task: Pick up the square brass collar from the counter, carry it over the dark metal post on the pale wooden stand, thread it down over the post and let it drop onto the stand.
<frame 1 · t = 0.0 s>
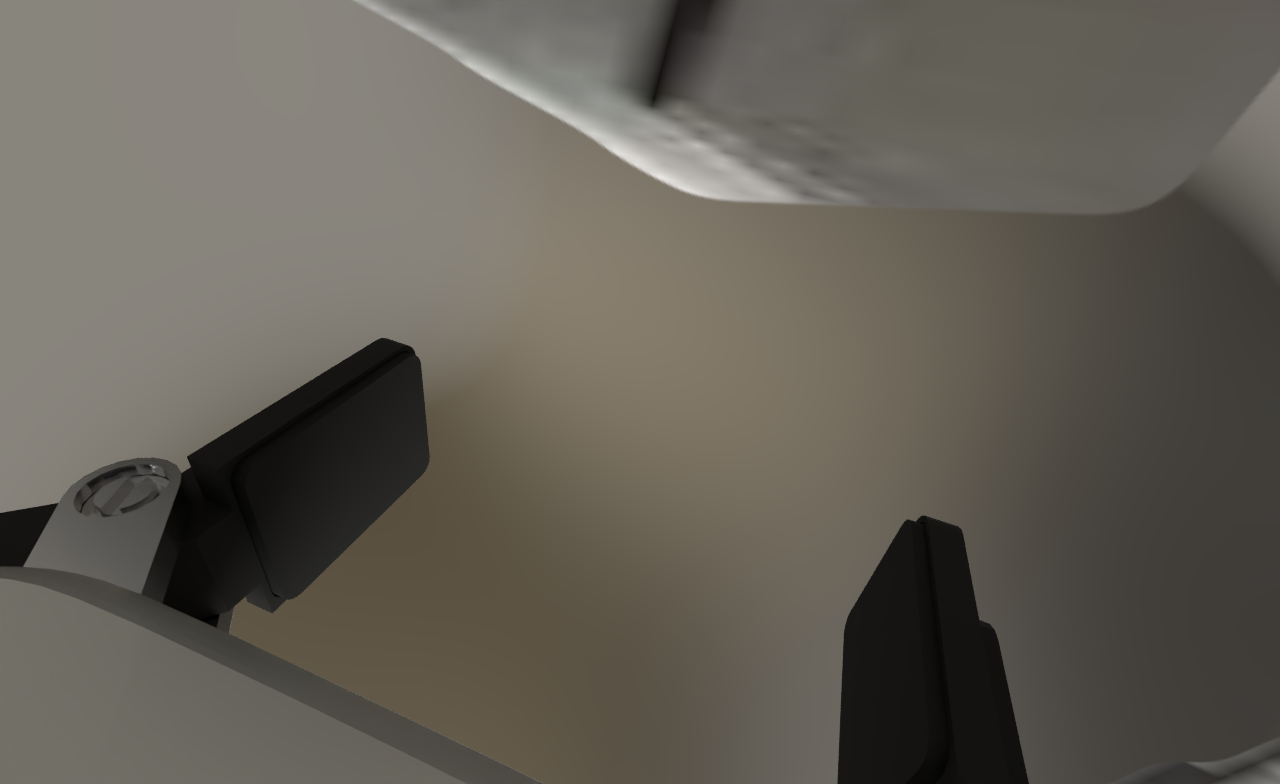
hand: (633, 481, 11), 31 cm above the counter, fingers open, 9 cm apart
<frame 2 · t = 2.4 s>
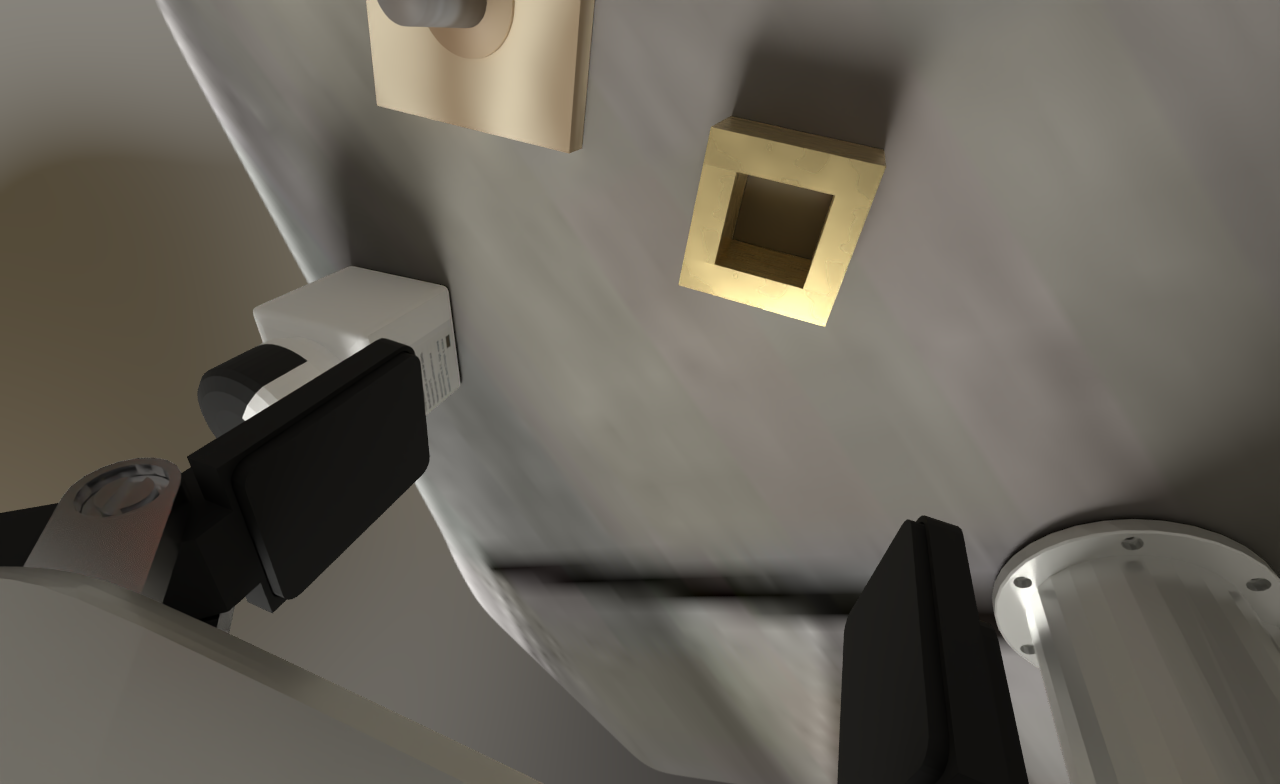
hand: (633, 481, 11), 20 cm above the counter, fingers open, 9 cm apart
collar: (782, 209, 27), on the counter
container: (410, 326, 39), on the counter
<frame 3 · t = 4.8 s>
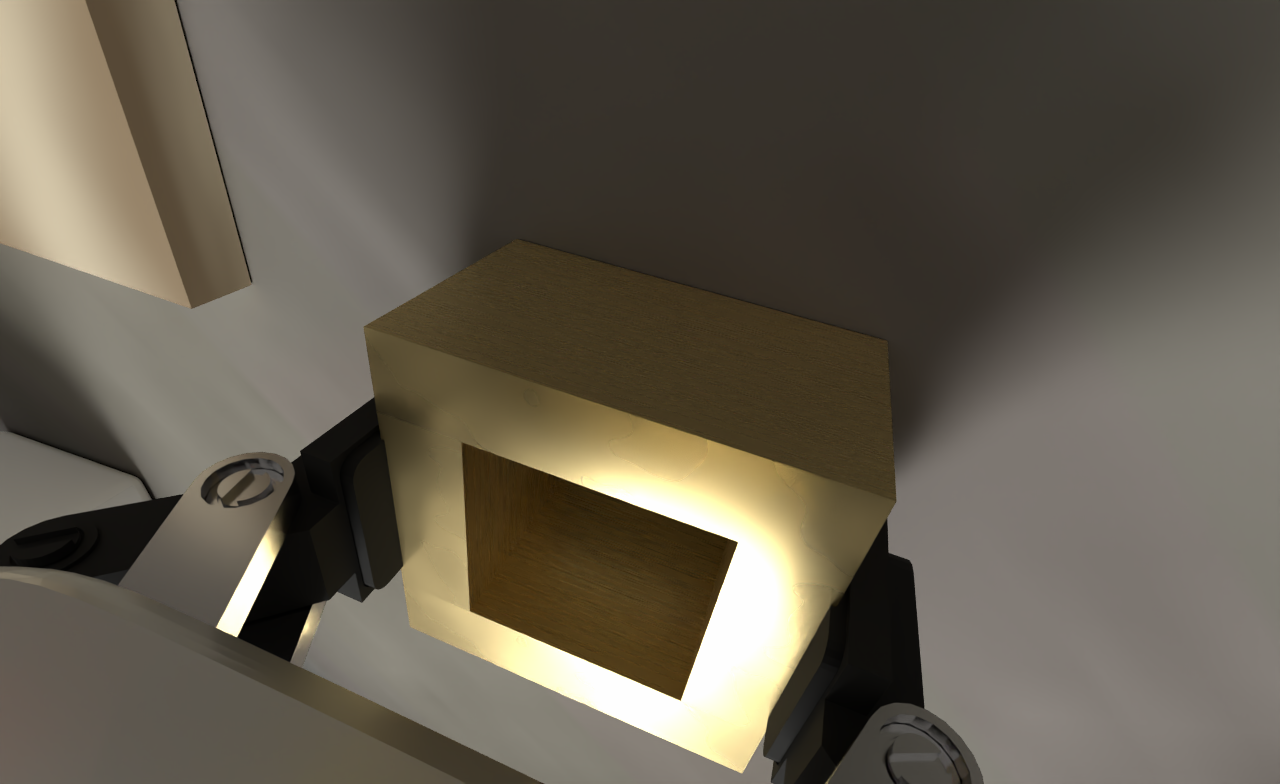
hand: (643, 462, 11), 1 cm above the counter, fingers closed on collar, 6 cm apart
collar: (658, 435, 12), on the counter, touching gripper
container: (120, 516, 24), on the counter
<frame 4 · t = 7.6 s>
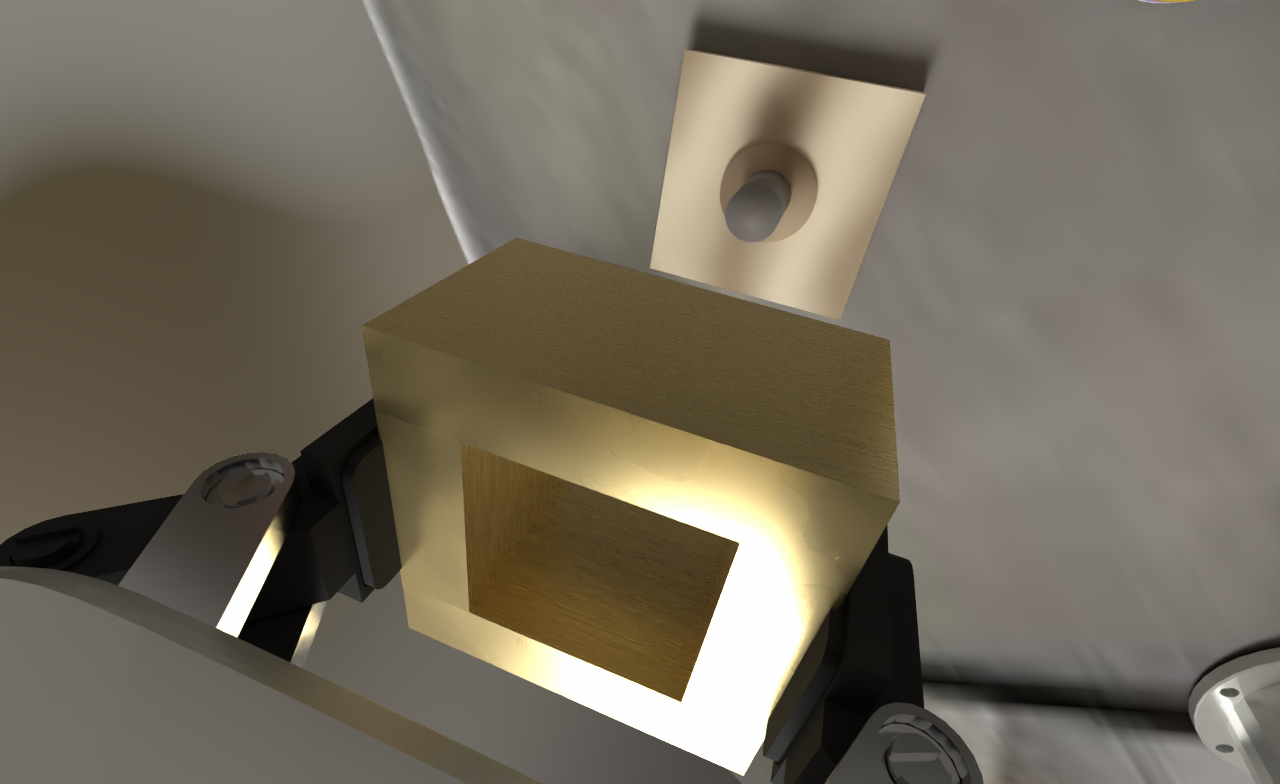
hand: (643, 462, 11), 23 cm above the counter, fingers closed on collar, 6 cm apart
collar: (659, 435, 12), point 22 cm above the counter, touching gripper
post stand: (772, 187, 30), on the counter
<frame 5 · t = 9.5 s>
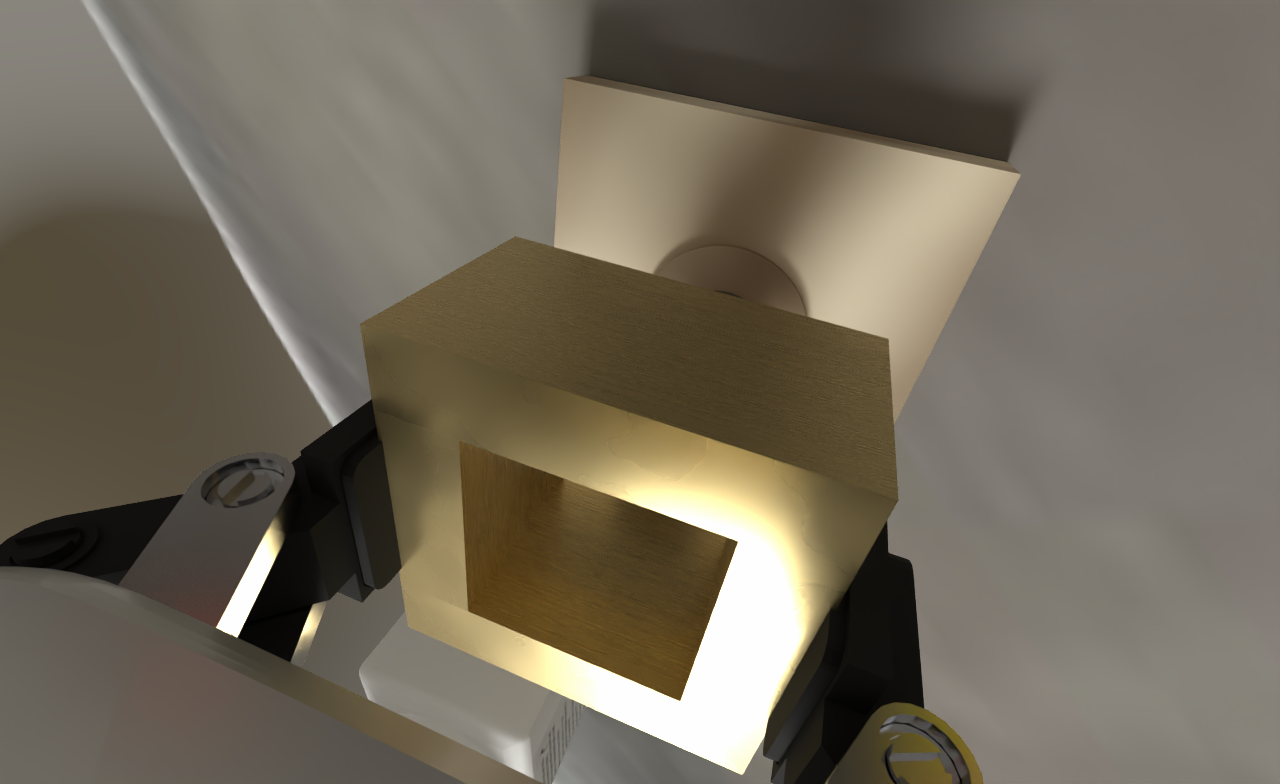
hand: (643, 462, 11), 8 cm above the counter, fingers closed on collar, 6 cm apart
collar: (658, 434, 12), point 7 cm above the counter, touching gripper
post stand: (732, 306, 18), on the counter
container: (536, 603, 30), on the counter
when the fingers open (4 cm above the counter, at t = 10.8 s): collar drops 1 cm, resting on post stand.
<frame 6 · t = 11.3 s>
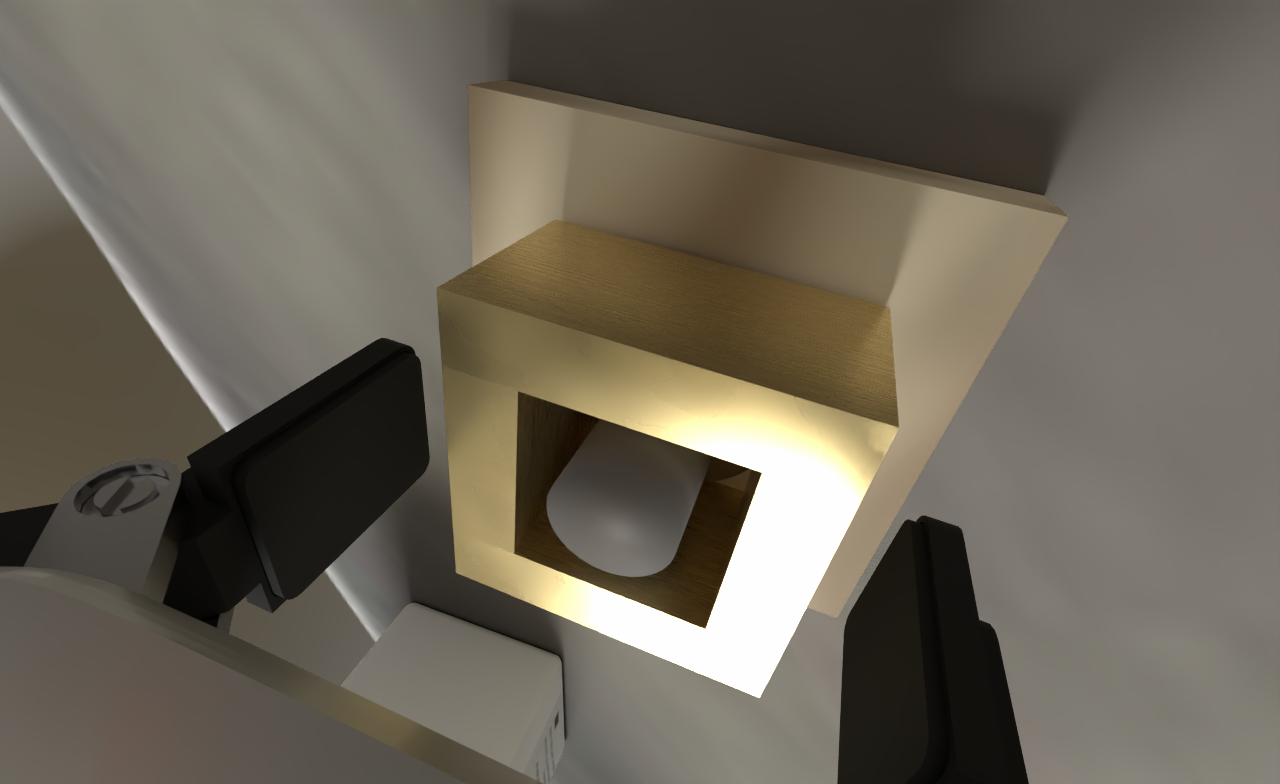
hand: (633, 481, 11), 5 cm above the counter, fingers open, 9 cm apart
collar: (680, 400, 13), point 2 cm above the counter, touching post stand
post stand: (696, 363, 14), on the counter
container: (494, 670, 27), on the counter
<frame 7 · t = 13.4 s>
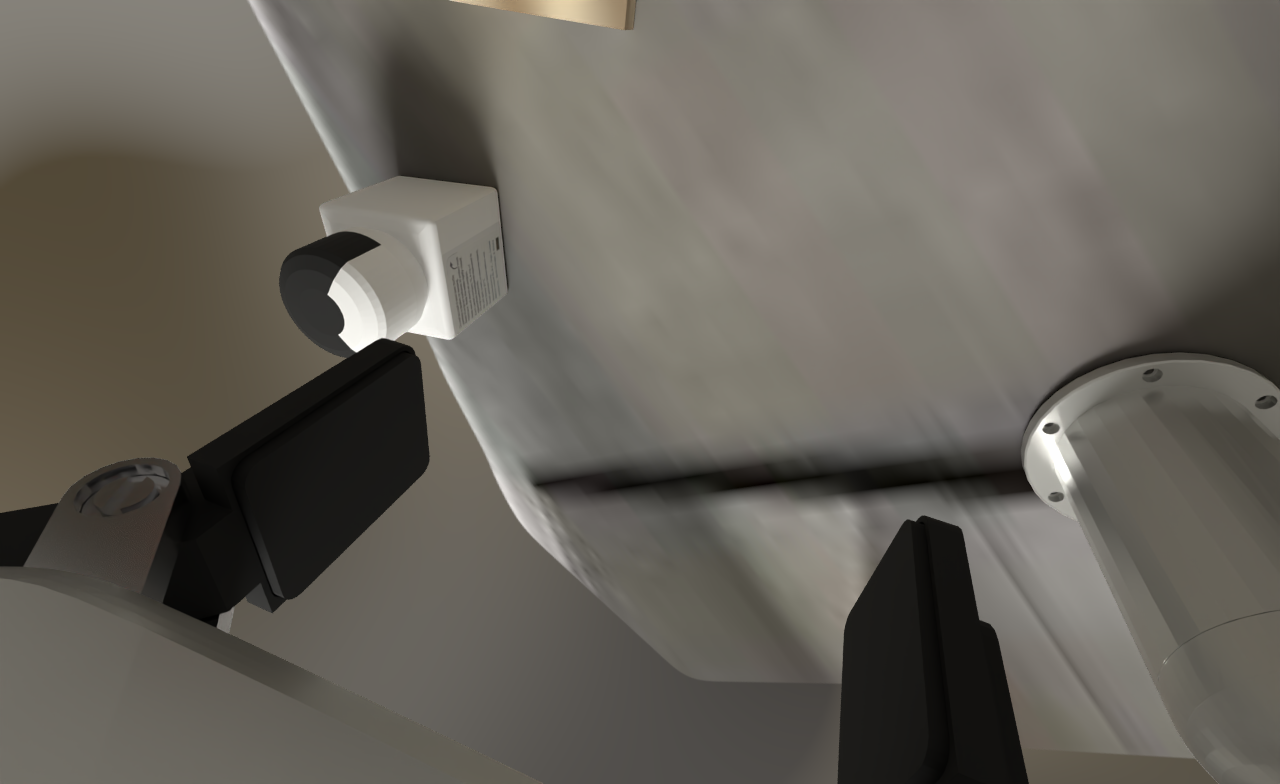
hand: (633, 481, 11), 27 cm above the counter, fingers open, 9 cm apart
container: (457, 235, 40), on the counter
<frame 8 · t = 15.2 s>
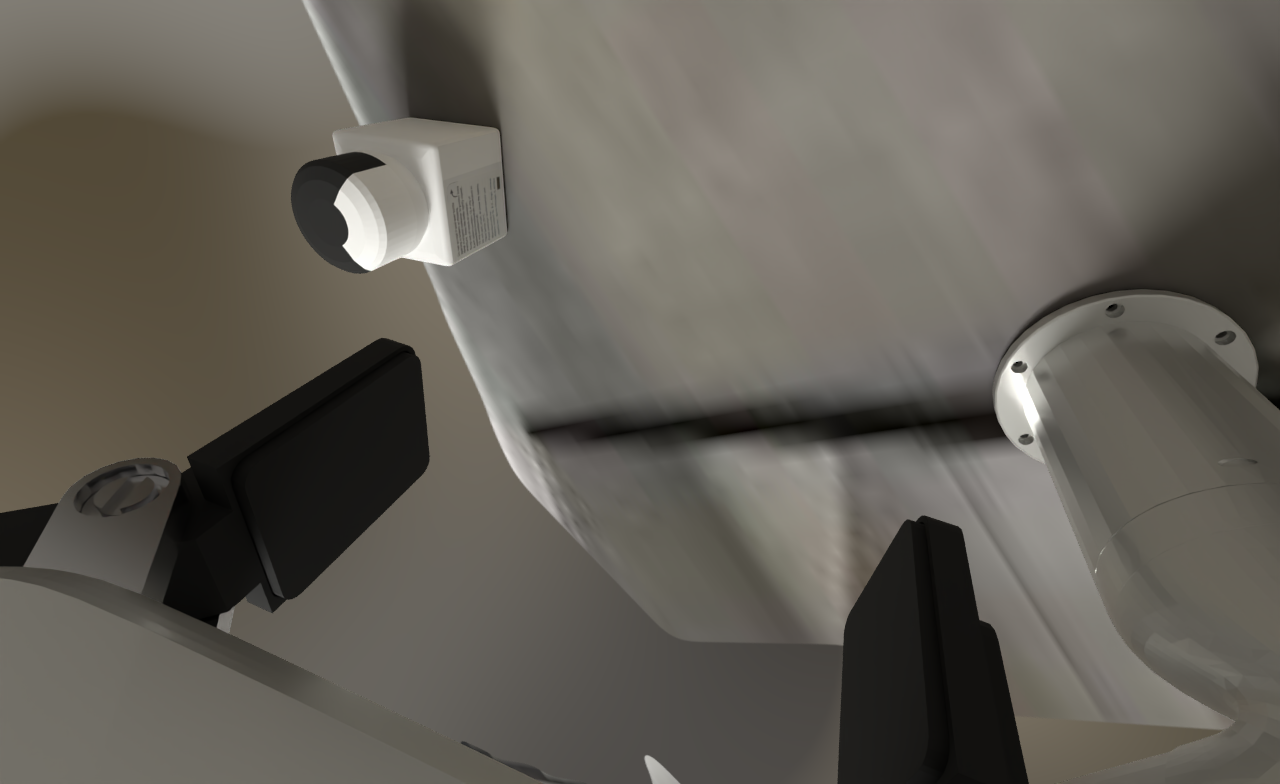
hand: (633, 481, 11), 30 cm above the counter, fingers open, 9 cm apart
container: (461, 177, 43), on the counter
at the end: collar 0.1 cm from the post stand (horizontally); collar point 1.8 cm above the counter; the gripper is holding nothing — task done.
